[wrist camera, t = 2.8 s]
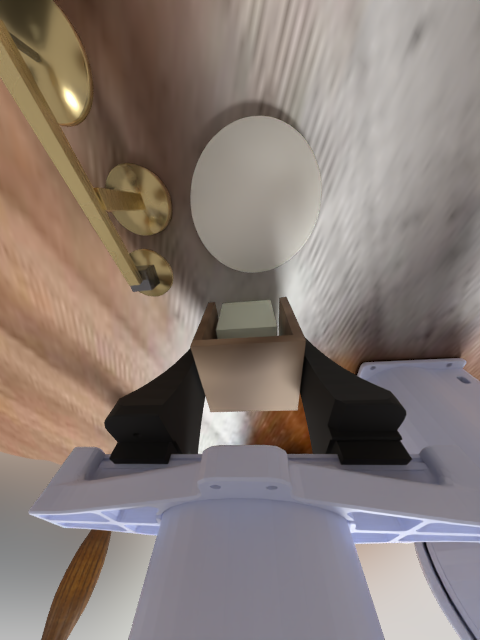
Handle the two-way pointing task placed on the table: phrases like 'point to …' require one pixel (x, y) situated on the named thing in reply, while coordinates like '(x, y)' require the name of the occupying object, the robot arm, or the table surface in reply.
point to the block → (246, 320)
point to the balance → (69, 110)
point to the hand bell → (77, 586)
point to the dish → (256, 194)
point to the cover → (250, 365)
